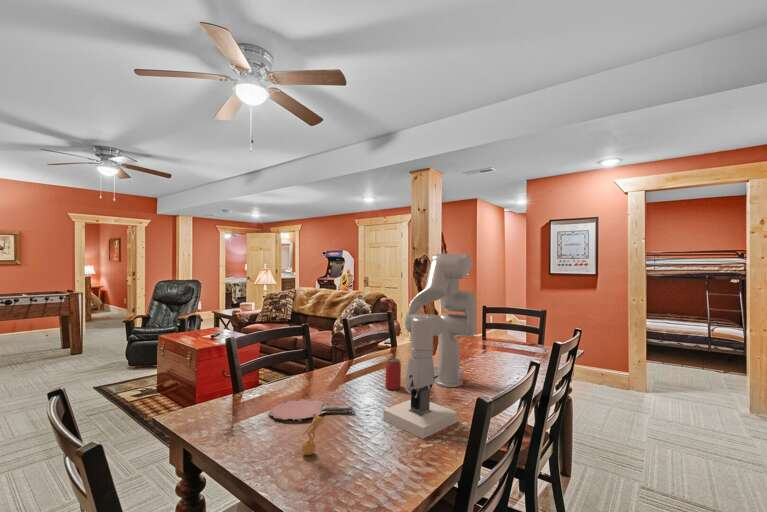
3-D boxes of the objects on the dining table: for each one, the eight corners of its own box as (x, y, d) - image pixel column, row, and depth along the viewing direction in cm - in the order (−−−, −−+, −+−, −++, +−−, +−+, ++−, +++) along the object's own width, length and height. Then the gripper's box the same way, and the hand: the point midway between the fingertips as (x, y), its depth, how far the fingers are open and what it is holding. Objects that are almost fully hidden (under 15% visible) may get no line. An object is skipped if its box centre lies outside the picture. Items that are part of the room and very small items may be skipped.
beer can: (399, 391, 154) (399, 362, 154) (383, 389, 155) (384, 361, 155) (401, 386, 160) (402, 358, 161) (386, 384, 162) (387, 357, 162)
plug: (419, 408, 129) (419, 385, 129) (429, 412, 126) (429, 388, 126) (410, 411, 126) (411, 388, 126) (420, 415, 123) (421, 391, 123)
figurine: (312, 445, 108) (313, 405, 108) (328, 451, 105) (329, 409, 105) (293, 459, 100) (294, 415, 100) (310, 465, 97) (311, 420, 98)
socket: (417, 406, 139) (417, 396, 139) (456, 422, 126) (457, 412, 126) (383, 419, 126) (383, 409, 126) (423, 439, 113) (423, 427, 113)
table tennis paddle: (287, 401, 142) (287, 393, 142) (357, 410, 134) (357, 403, 134) (260, 419, 125) (260, 411, 125) (338, 432, 117) (338, 423, 117)
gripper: (428, 347, 135) (427, 397, 134) (396, 354, 123) (395, 409, 123) (444, 351, 129) (443, 403, 129) (413, 359, 118) (411, 416, 117)
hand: (420, 405), depth 126 cm, fingers closed on plug, 4 cm apart
